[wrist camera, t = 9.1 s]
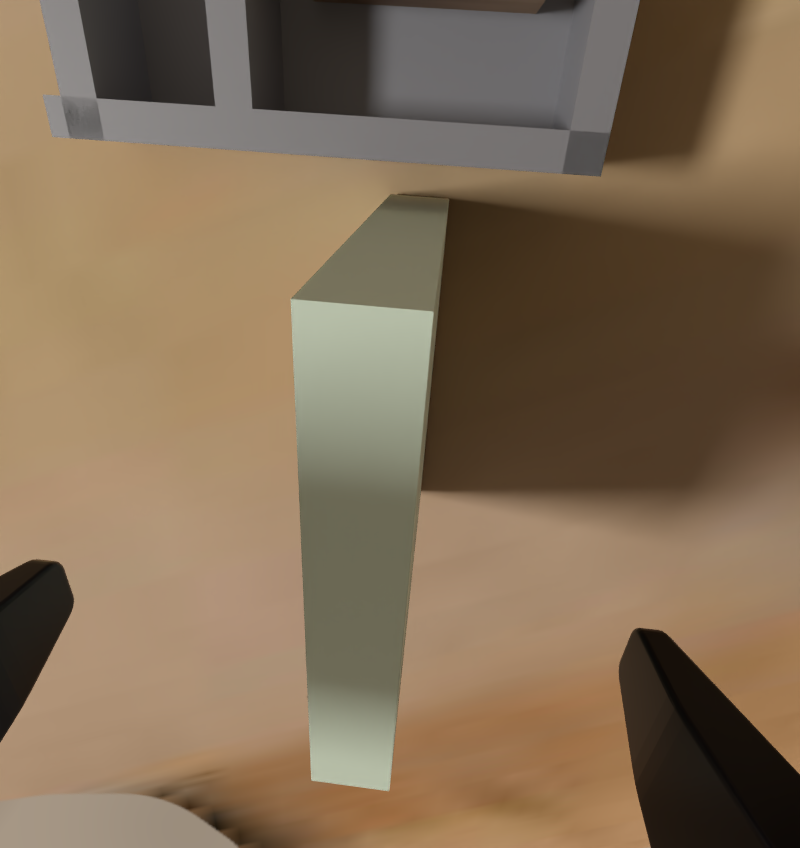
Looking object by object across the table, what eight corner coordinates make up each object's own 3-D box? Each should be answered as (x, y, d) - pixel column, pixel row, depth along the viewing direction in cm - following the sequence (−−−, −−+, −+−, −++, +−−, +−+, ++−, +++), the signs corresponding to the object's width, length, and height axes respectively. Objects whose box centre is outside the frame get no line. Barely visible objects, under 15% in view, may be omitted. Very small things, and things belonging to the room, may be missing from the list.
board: (448, 198, 15) (434, 311, 6) (420, 493, 20) (389, 791, 11) (390, 194, 15) (290, 298, 6) (377, 489, 20) (311, 780, 11)
